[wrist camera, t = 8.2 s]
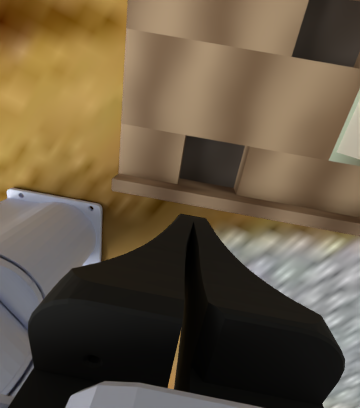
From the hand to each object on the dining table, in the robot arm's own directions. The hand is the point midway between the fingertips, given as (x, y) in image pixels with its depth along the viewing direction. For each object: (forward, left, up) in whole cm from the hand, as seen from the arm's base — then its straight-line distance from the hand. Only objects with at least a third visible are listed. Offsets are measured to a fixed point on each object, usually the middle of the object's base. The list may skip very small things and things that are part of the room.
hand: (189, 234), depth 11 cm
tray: (+5, +7, -10) cm, 13 cm away
